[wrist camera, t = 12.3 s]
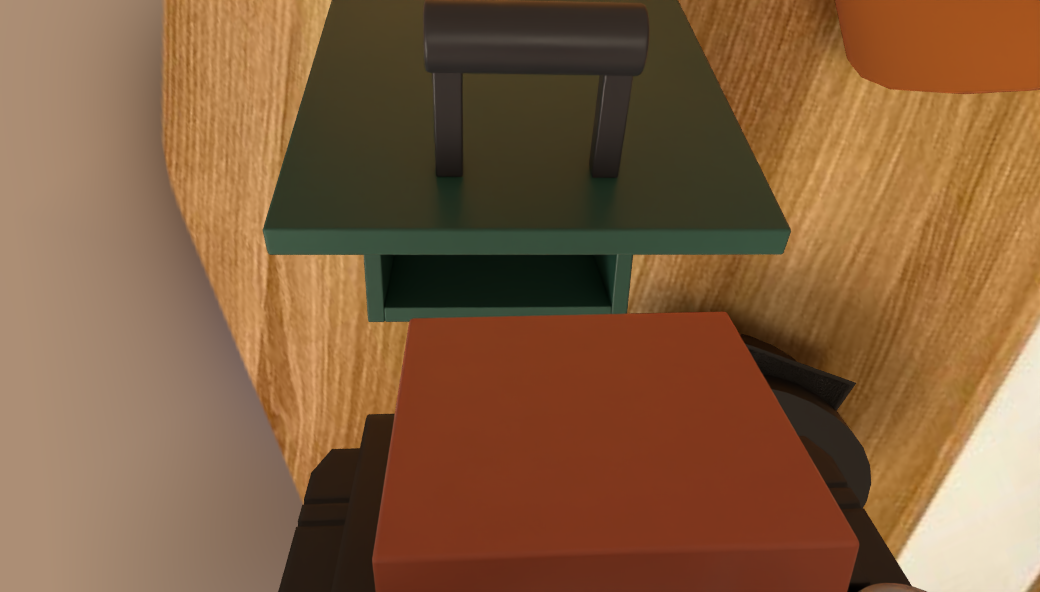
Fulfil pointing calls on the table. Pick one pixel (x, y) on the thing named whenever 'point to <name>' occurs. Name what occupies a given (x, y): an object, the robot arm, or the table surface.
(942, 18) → the orange toaster
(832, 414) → the waffle maker
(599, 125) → the lid
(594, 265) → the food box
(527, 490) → the block
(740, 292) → the table surface
